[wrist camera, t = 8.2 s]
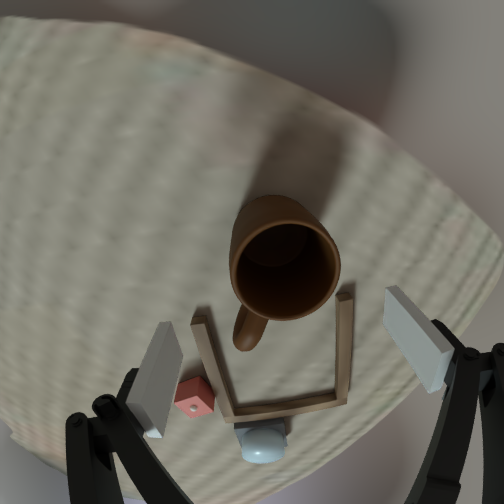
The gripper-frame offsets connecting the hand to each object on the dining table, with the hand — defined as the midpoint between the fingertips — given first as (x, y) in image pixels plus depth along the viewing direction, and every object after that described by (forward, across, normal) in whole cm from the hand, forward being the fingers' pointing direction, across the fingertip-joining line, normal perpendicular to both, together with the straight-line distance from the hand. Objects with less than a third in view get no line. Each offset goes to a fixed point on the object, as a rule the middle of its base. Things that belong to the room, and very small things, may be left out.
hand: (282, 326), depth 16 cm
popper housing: (+12, -4, -28) cm, 31 cm away
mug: (+12, 0, 0) cm, 12 cm away
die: (+12, -12, -17) cm, 24 cm away
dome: (+10, -4, -28) cm, 30 cm away
